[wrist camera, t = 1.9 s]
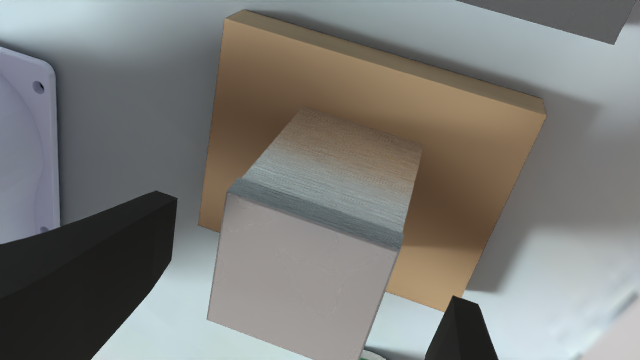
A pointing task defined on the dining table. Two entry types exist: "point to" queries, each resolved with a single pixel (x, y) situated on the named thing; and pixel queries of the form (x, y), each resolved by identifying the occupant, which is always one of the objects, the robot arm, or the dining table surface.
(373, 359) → the supplement bottle
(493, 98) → the pad
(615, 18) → the rack plate
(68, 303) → the robot arm
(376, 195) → the steel peg
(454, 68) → the dining table surface
